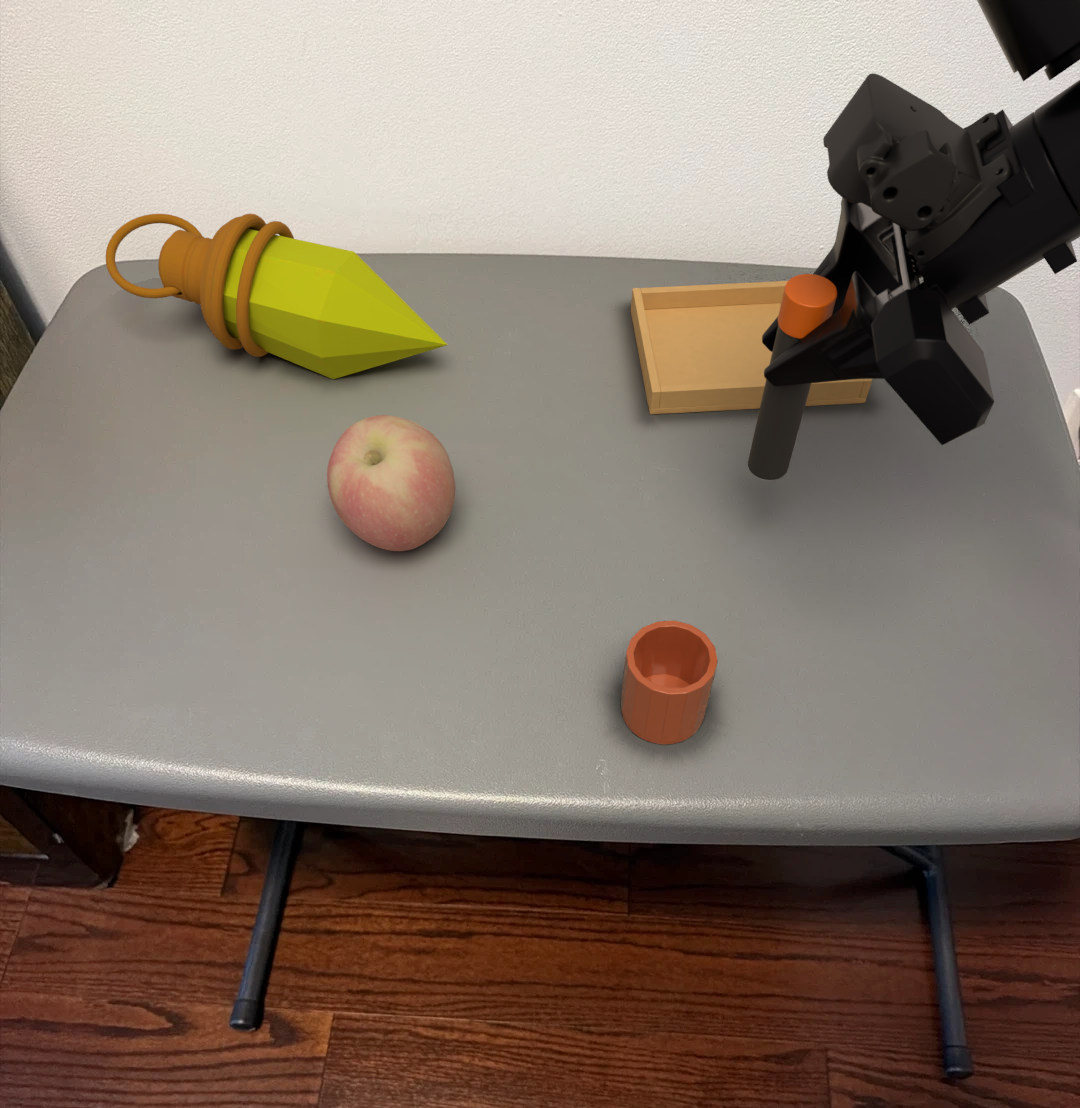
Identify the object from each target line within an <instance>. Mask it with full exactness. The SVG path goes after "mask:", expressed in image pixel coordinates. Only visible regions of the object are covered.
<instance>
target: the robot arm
mask: <svg viewBox="0 0 1080 1108" xmlns="http://www.w3.org/2000/svg"><path fill="white" fill-rule="evenodd" d="M976 2H977V3H978V5H979V8H980V9H981V12H982V13H983V15H984V17H985V19H986V22H987V23H988V25H989V27H990V29H991V31H992V33H993V35H994V37H995V40H996V41H997V43H998V45H999V47H1000V50H1001V51H1002V53H1003V54H1004V56H1005V59H1006V61H1007V63H1008V64H1009V66H1010V68H1011V71H1012V72H1013V74H1015V73H1018V75H1019V77H1020V78H1021V80H1022V82H1025V81H1026V80H1028V79H1029V78H1030V77H1032V76H1033V75H1034V74H1036V73H1038V72H1039V71H1040V70H1042V69H1043V68H1044V69H1043V71H1044V73H1045V75H1046V77H1047V79H1048V81H1051V80H1053V79H1054V78H1055V77H1057V76H1058V75H1060V74H1062V73H1064V71H1066V70H1067V69H1069V68H1070V67H1072V66H1073V65H1074V64H1076V63H1078V62H1079V61H1080V0H976ZM822 141H823V147H824V148H826V149H827V155H828V167H827V171H826V175H827V181H828V183H829V185H830V186H831V188H832V189H833V190H834V192H836V193H837V195H839V196H840V197H841V200H840V206H841V207H840V213H839V220H838V225H837V229H836V230H837V231H836V236H835V241H834V243H833V246H832V248H830V250H829V251H828V253H827V255H826V256H825V257H824V258H823V260H822V261H821V263H820V264H819V265H818V266H817V268H816V269H815V270H814V272H813V273H812V274H814V275H819V276H822V277H824V278H826V279H828V280H830V281H831V282H832V283H833V284H834V285H835V287H836V289H837V298H836V302H835V305H834V309H833V313H832V316H831V317H829V318H828V319H827V320H825V321H824V322H823V323H822V324H820V325H819V326H818V327H816V328H815V329H814V330H812V331H811V332H810V333H808V334H807V335H806V336H804V337H803V338H802V339H801V340H799V341H798V342H797V343H795V344H794V345H793V346H791V347H790V348H789V349H787V350H786V351H785V352H784V353H782V354H781V355H780V356H779V357H778V358H777V359H775V360H774V361H773V362H772V363H771V364H770V365H769V366H768V367H766V368H765V370H764V377H765V378H766V379H767V380H768V381H769V382H770V383H771V384H772V385H773V386H775V387H779V386H789V385H799V384H809V383H819V382H829V381H839V380H851V379H872V380H879V379H880V380H882V379H883V380H884V381H885V382H886V383H887V384H888V385H889V386H890V388H891V389H892V390H893V391H894V392H895V394H897V395H898V397H899V398H900V399H901V400H902V401H903V403H904V404H905V405H906V406H907V407H908V408H909V410H910V411H911V412H912V413H913V414H914V415H915V417H916V418H918V420H919V421H920V422H921V423H922V425H924V427H925V428H926V429H927V430H928V431H929V432H930V434H931V435H932V436H933V437H934V438H935V439H936V440H937V442H938V443H939V444H940V445H941V446H943V445H947V444H949V443H950V442H952V441H954V440H957V439H958V438H960V437H962V436H964V435H966V434H967V433H969V432H971V431H974V430H976V429H978V428H979V427H981V426H982V425H985V423H986V421H987V420H988V417H989V415H990V412H991V411H992V408H993V406H994V404H995V397H994V393H993V389H992V384H991V379H990V375H989V370H988V365H987V361H986V356H985V352H984V350H983V349H982V347H981V346H980V345H979V344H978V342H977V341H976V340H975V339H974V337H973V336H972V335H971V333H970V332H969V331H968V329H967V328H966V326H965V325H964V324H963V322H962V321H961V320H960V318H959V317H958V316H957V315H956V314H955V312H954V311H953V309H955V308H956V309H957V311H958V312H959V313H960V315H961V316H962V317H963V319H964V320H965V321H966V323H967V324H968V325H972V324H973V323H975V322H976V321H979V320H980V319H982V318H983V317H985V316H987V315H988V314H990V310H989V305H988V301H987V297H986V294H987V293H989V292H991V291H992V290H994V289H996V288H997V287H999V286H1001V285H1003V284H1004V283H1006V282H1008V281H1010V279H1012V278H1014V277H1016V276H1017V275H1020V274H1021V273H1022V272H1024V271H1025V270H1027V269H1029V268H1031V267H1032V266H1035V265H1036V264H1037V263H1039V262H1042V261H1043V260H1044V261H1046V263H1047V265H1048V266H1049V267H1050V269H1051V270H1052V272H1053V274H1054V275H1057V274H1058V273H1060V272H1062V271H1063V270H1065V269H1067V268H1068V267H1070V266H1072V265H1074V264H1076V263H1077V262H1078V259H1077V256H1076V252H1075V250H1074V246H1073V242H1074V241H1076V240H1078V239H1079V238H1080V79H1078V80H1077V81H1076V82H1074V83H1073V84H1071V85H1070V86H1069V87H1067V88H1066V89H1064V90H1063V91H1061V92H1060V93H1058V94H1057V95H1055V96H1054V97H1053V98H1051V99H1050V100H1048V101H1046V103H1044V104H1043V105H1041V106H1039V107H1038V108H1037V109H1035V110H1034V111H1032V112H1031V113H1029V114H1028V115H1026V116H1025V117H1024V118H1022V119H1021V120H1020V121H1018V122H1016V123H1015V124H1014V125H1013V123H1012V122H1011V120H1010V118H1009V117H1008V115H1007V114H1006V112H1005V110H1004V109H1001V110H999V111H998V112H997V113H995V112H988V113H986V114H984V115H983V116H981V117H980V118H978V119H977V120H976V121H974V122H973V123H971V124H969V125H967V126H965V127H962V126H961V125H959V124H958V123H956V122H955V121H953V120H952V119H950V118H949V117H947V116H946V115H945V113H943V112H942V111H941V110H939V109H938V108H937V107H936V106H934V105H932V104H930V103H928V102H927V101H926V100H923V99H922V98H920V97H919V96H916V95H915V94H913V93H911V92H910V91H908V90H906V89H904V88H903V87H901V86H899V85H898V84H897V83H894V82H893V81H892V80H889V79H888V78H886V77H884V76H882V75H880V74H878V73H869V74H868V75H867V76H866V77H865V79H864V80H863V82H862V83H861V85H860V86H859V87H858V89H857V90H856V91H855V93H854V94H853V95H852V97H851V99H850V100H849V101H848V103H847V104H846V105H845V107H844V108H843V110H842V111H841V113H840V114H839V115H838V116H837V117H836V120H835V121H834V122H833V123H832V125H831V126H830V127H829V129H828V130H827V132H826V134H824V136H823V140H822ZM921 278H922V282H921V280H920V279H921ZM777 329H778V317H777V318H776V319H775V320H774V322H773V323H772V324H771V325H770V327H769V328H768V329H767V330H766V331H765V333H764V334H763V335H762V343H763V344H764V345H765V346H766V347H767V348H768V349H769V350H770V351H771V352H772V351H773V347H774V342H775V338H776V333H777Z"/></svg>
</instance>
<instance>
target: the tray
mask: <svg viewBox="0 0 1080 1108" xmlns="http://www.w3.org/2000/svg"><path fill="white" fill-rule="evenodd" d="M788 281H789V280H777V281H756V282H754V281H753V282H736V283H735V282H733V283H716V284H696V285H695V284H693V285H692V284H691V285H675V286H673V285H672V286H656V287H655V286H654V287H632V290H631V300H630V302H631V303H630V315H631V320H632V326H633V331H634V336H635V342H636V347H637V353H638V358H639V359H638V360H639V364H640V368H641V374H642V380H643V385H644V391H645V396H646V401H647V408H648V411H649V415H667V414H682V413H685V414H686V413H698V412H699V413H700V412H703V413H705V412H719V411H720V412H721V411H723V412H724V411H741V410H742V411H743V410H756V409H757V410H758V409H760V405H761V400H762V396H763V391H764V387H765V382H766V378H765V377H764V370H765V368H766V367H768V366H769V364H770V360H771V356H772V352H771V351H770V350H769V349H768V348H767V347H766V346H765V345H764V344H763V343H762V335H763V334H764V333H765V331H766V330H767V329H768V328H769V327H770V325H771V324H772V323H773V322H774V320H775V319H776V318H777V317H778V315H779V311H780V306H781V302H782V297H783V293H784V288H785V285H786V283H787V282H788ZM872 382H873V379H851V380H839V381H829V382H819V383H811V386H810V390H809V394H808V398H807V401H806V405H805V407H813V406H831V405H834V406H835V405H852V404H854V405H855V404H865V403H866V401H867V398H868V396H869V393H870V389H871V386H872Z"/></svg>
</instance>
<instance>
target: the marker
mask: <svg viewBox="0 0 1080 1108" xmlns="http://www.w3.org/2000/svg"><path fill="white" fill-rule="evenodd" d="M787 281H788V282H787V283H786V285H785V288H784V293H783V297H782V302H781V306H780V311H779V315H778V329H777V333H776V338H775V342H774V347H773V351H772V356H771V360H770V364H771V363H772V362H773V361H774V360H775V359H777V358H778V357H779V356H780V355H781V354H782V353H784V352H785V351H786V350H787V349H789V348H790V347H791V346H793V345H794V344H795V343H797V342H798V341H799V340H801V339H802V338H803V337H804V336H806V335H807V334H808V333H810V332H811V331H812V330H814V329H815V328H816V327H818V326H819V325H820V324H822V323H823V322H824V321H825V320H827V319H828V318H829V317H831V316H832V313H833V309H834V305H835V302H836V298H837V289H836V287H835V285H834V284H833V283H832V282H831V281H830V280H828V279H826V278H824V277H822V276H819V275H814V274H813V273H802V274H797V275H795V276H793V277H791V278H789V280H787ZM770 364H769V365H770ZM810 386H811V383H809V384H799V385H789V386H779V387H775V386H773V385H772V384H771V383H770V382H769V381H768V380H767V379H766V382H765V387H764V391H763V396H762V400H761V405H760V409H759V410H758V414H757V419H756V423H755V427H754V432H753V436H752V440H751V444H750V445H751V446H750V450H749V454H748V458H747V468H748V471H749V472H750V473H751V474H752V475H753V476H754V477H756V478H758V479H761V480H764V481H776V480H779V479H782V478H783V477H784V476H786V474H787V473H788V470H789V467H790V465H791V462H792V461H791V460H792V457H793V454H794V453H793V452H794V449H795V446H796V442H797V438H798V434H799V431H800V427H801V424H802V419H803V416H804V413H805V409H806V406H805V405H806V401H807V398H808V394H809V390H810Z"/></svg>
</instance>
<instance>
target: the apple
mask: <svg viewBox="0 0 1080 1108" xmlns="http://www.w3.org/2000/svg"><path fill="white" fill-rule="evenodd" d="M326 482H327V489H328V495H329V499H330V501H331V504H332V506H333V508H334V510H335V512H336V514H337V515H338V517H339V519H340V520H341V521H342V522H343V524H344V525H345V526H346V527H347V528H348V529H349V530H350V531H351V532H353V534H355V535H356V537H358V538H359V539H361V540H363V541H365V542H366V543H368V544H370V545H372V546H373V547H376V548H379V549H382V550H386V551H391V552H405V551H410V550H413V549H416V548H419V547H420V546H422V545H424V544H426V543H427V542H429V540H431V539H433V538H434V537H435V536H436V535H437V534H438V533H440V532H441V531H442V529H443V528H444V527H445V525H446V523H447V522H448V520H449V518H450V516H451V514H452V511H453V508H454V505H455V501H456V478H455V472H454V468H453V466H452V462H451V460H450V457H449V454H448V451H447V450H446V448H445V447H444V445H443V443H442V442H441V440H439V438H438V437H436V435H435V434H434V433H432V432H431V431H430V430H428V429H427V428H425V427H423V426H422V425H420V424H419V423H416V422H415V421H413V420H410V419H407V418H403V417H399V416H395V415H388V414H387V415H386V414H381V415H373V416H369V417H366V418H363V419H360V420H358V421H356V422H354V423H353V424H351V425H350V426H349V427H347V428H345V430H344V431H343V432H342V434H341V435H340V437H339V438H338V440H337V441H336V443H335V444H334V447H333V449H332V451H331V454H330V457H329V459H328V464H327V469H326Z"/></svg>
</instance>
